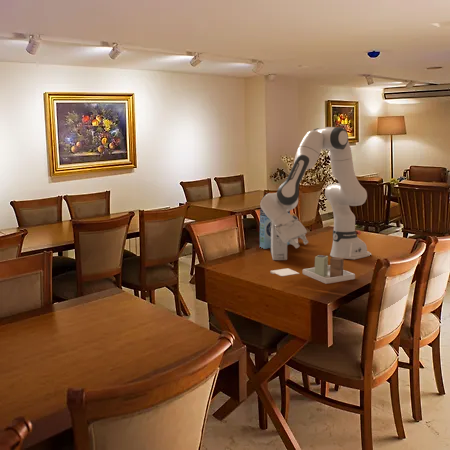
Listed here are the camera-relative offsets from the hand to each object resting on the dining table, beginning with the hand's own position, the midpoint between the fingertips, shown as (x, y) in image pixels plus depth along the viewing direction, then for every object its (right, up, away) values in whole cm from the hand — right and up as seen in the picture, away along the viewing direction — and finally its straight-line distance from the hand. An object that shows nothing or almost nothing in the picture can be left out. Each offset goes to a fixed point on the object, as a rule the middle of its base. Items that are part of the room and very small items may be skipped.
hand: (302, 245), depth 237 cm
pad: (-8, -14, +3) cm, 16 cm away
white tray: (+11, -15, -4) cm, 19 cm away
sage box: (+8, -14, -3) cm, 16 cm away
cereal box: (-7, -7, +39) cm, 41 cm away
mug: (+5, -1, +72) cm, 72 cm away
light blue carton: (-7, -3, +61) cm, 62 cm away
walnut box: (+14, -14, -7) cm, 21 cm away
